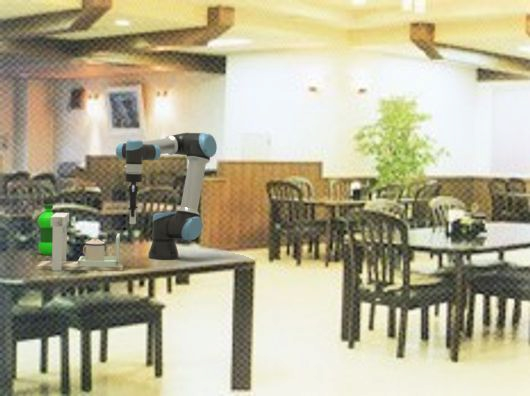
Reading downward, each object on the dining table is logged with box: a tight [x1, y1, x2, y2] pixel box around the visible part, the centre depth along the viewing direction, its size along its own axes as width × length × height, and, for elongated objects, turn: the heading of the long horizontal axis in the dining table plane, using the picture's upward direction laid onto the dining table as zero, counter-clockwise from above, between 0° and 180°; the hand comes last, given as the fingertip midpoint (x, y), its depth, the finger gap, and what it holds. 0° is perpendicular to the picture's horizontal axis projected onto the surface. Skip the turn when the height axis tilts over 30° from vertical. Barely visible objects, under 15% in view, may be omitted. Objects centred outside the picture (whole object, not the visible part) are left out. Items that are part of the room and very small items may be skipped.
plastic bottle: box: [37, 204, 55, 256], centre depth 475 cm, size 10×10×25 cm
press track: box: [36, 260, 125, 272], centre depth 434 cm, size 38×17×2 cm, turn 97°
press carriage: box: [77, 232, 121, 267], centre depth 435 cm, size 18×17×14 cm
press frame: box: [51, 212, 70, 272], centre depth 432 cm, size 6×24×24 cm, turn 7°
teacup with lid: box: [82, 236, 106, 261], centre depth 435 cm, size 12×9×12 cm
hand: (132, 223), depth 436 cm, fingers open, 6 cm apart
